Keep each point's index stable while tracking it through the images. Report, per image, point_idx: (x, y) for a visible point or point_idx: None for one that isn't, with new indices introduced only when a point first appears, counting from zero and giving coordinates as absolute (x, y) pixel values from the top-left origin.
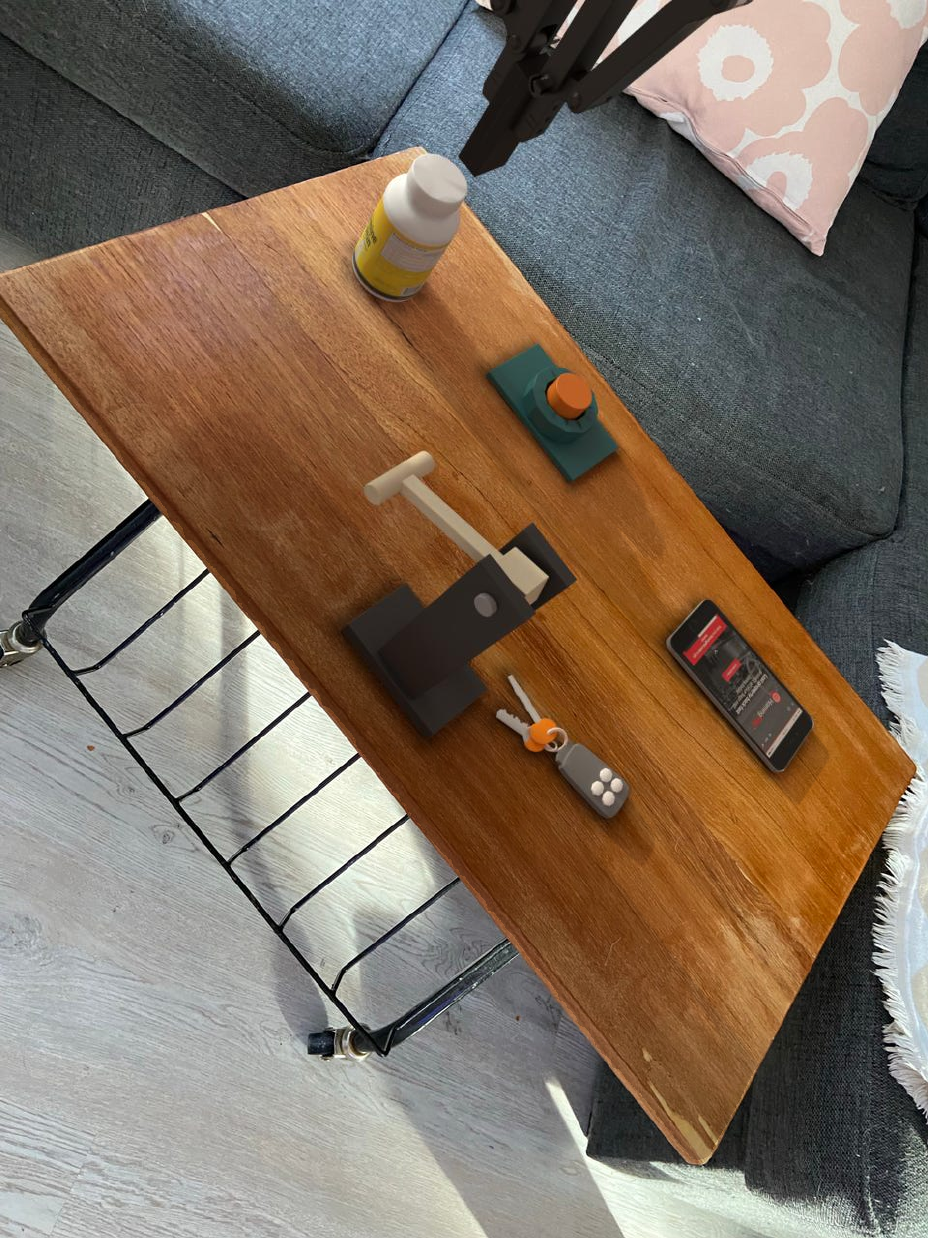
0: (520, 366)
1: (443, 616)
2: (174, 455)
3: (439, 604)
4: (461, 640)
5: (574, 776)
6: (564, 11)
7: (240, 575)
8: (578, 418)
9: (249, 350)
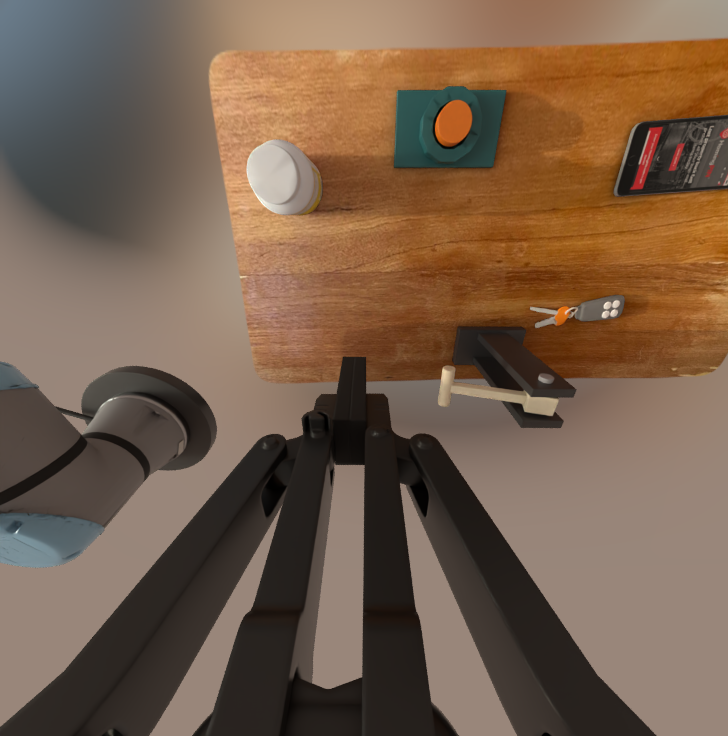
0: (404, 131)
1: None
2: None
3: None
4: None
5: (590, 319)
6: (327, 482)
7: (407, 378)
8: None
9: (317, 309)
